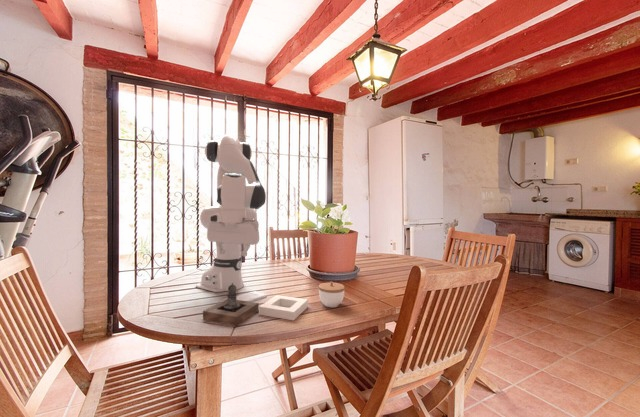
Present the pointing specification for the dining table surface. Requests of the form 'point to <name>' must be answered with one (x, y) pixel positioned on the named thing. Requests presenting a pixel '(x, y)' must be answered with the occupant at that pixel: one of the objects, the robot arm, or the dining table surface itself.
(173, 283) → the dining table surface
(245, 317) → the walnut holder
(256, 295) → the external hard drive
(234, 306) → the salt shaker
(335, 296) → the lidded jar
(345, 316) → the dining table surface
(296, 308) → the off-white holder
